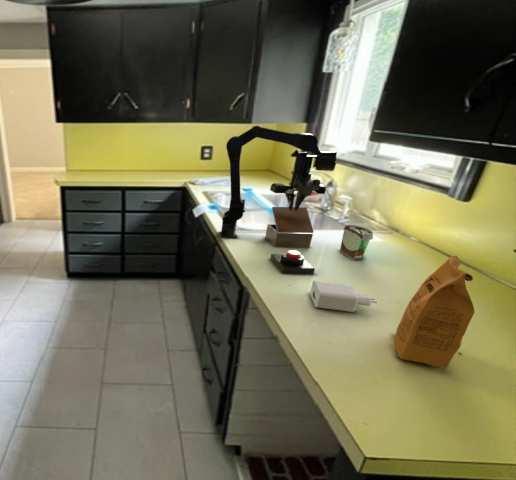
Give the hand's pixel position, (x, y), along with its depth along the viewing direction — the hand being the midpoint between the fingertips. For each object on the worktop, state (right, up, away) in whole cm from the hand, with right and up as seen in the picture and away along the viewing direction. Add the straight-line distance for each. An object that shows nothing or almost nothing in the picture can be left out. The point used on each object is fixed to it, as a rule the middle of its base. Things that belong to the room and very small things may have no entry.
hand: (293, 210), depth 142 cm
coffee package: (-2, -42, -60) cm, 74 cm away
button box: (-9, -22, -17) cm, 30 cm away
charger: (-7, -33, -41) cm, 53 cm away
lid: (0, -4, +1) cm, 4 cm away
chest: (0, -12, +5) cm, 13 cm away
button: (-9, -19, -19) cm, 28 cm away
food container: (+19, -18, -7) cm, 27 cm away
